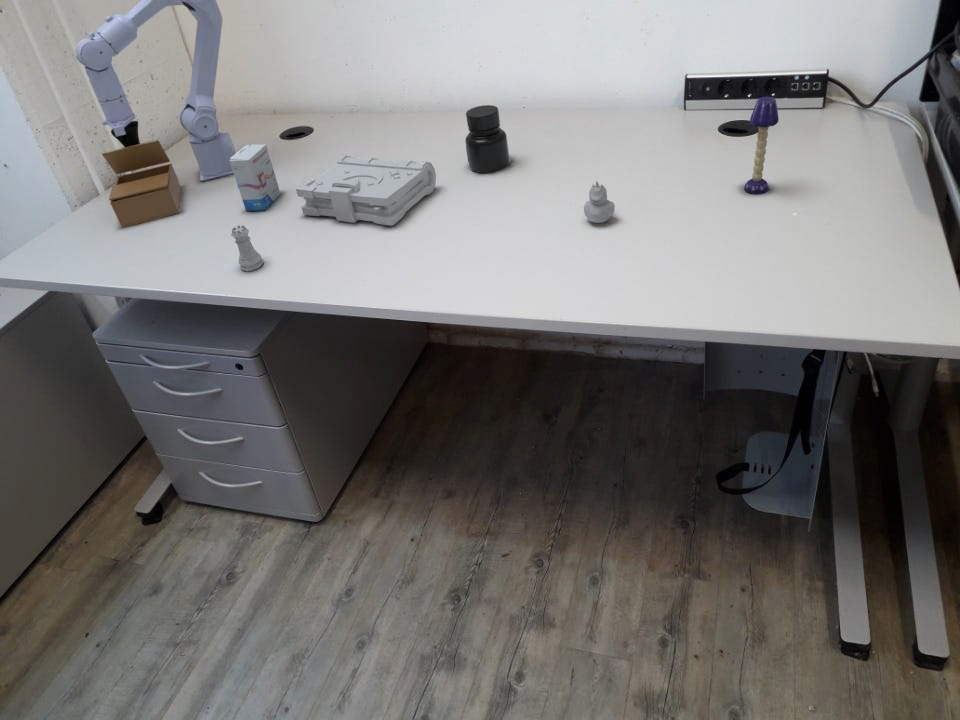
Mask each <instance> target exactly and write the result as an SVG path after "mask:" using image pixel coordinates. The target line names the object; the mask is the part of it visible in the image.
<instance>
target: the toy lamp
mask: <svg viewBox="0 0 960 720" xmlns="http://www.w3.org/2000/svg"><path fill="white" fill-rule="evenodd" d="M779 120H780V119H779V112H778V105H777V100H776V98H775V97H772V96H762V97H759V98H758V99H757V100H756V102H755V105H754V107H753V110H752V113H751V115H750V119H749V123H750V124H751V125H752V126H754V127H757V129H758V131H757V135H756V136H757V140H756V148H755V151H754V152H755V153H754V155H755V157H754V161H753V162H754V164H753V168H752V170H753V173H752V178H750V179H749V180H747V181H746V182H745V184H744V187H743V190H744V191H745V192H746V193H748V194H752V195H761V194H765V193H767V192H768V191H769V189H770V187H769V184H768V181H767V180H766V179H764V178H763V171H764V163H765V160H766V157H765V155H766V153H767V149H766V147H767V145H768V142H767V139H768V137H769V132H768V131H769V129H770V128H771V127H774V126H776V125H777V124H778V123H779Z"/></svg>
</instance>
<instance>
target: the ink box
mask: <svg viewBox="0 0 960 720" xmlns="http://www.w3.org/2000/svg"><path fill="white" fill-rule="evenodd" d="M230 159H231V160H230V164H231V167H232V170H233V176H234V180H235V182H236V185H237V189H238V192H239V194H240V197H241V200H242V204H243V205H244V209H245V211H246V212H253V211H254V212H255V211H266V210H267V209H268V208H269V207H270V206H271V205H272V204H273V203H274V201H276V199H278V197H279V196H280V195H281V190H280V187H279V184H278V180H277V177H276V173H275V170H274V167H273V164H272V160H271V157H270V154H269V150H268V146H267V144H245V145H243V147H241V149H239V150H238V151H237V152H236V154H234V155H233V156H232V157H231V158H230Z"/></svg>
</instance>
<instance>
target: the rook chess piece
mask: <svg viewBox="0 0 960 720" xmlns="http://www.w3.org/2000/svg"><path fill="white" fill-rule="evenodd" d="M249 232H250V230H249V228H246V225H244V224H241V225H239V224H238V225H236V226H233V227H232V229H231V237H233V238H234V239H235V241H234V243H235V244H236V246H237V247H238V253H239V256H238V265H239V269H241V270H242V271H244V272H252V271H256V270H259V269H260V268H261V267H262V265H263V264H264V259H263V258H262V255H261V254H260V253H259V252H258V251H257V250H256V249H255V247H254V246H253V244H252V242H251V237H250V236H249Z"/></svg>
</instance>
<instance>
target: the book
mask: <svg viewBox="0 0 960 720" xmlns="http://www.w3.org/2000/svg"><path fill="white" fill-rule="evenodd" d="M436 181H437V174H436V169H435V167H434V165H433V164H432V162H430V161H421V162H415V161H413V160H406V159H394V160H388V159H387V160H386V159H378V158H374V157H368V156H367V157H365V156H356V157H352V156H350V155H346V154H345V155H341V156H340V157H338V160H337V161H336V163H334V164H333V165H332V166H330V167H329V168H327V169H326V170H324V171H322V172H321V173H320V174H318V175H317V176H315V177H314V178H311V179H309V180H307V181H305V182H304V183H302V184H300V185H299V186H298V187H296V188H295V191H296V194H297V197H299V198H302V199H303V200H304V201H305V203H304V204H303V205H302V206H301V207H300V208H301V211H302V214H303V215H305V216H312V217H313V216H314V217H320V216H327V217H335V219H336V221H338V222H343V223H344V222H345V223H352V224H353V223H354V224H355V223H356V222H358V221H367V222H373V223H374V224H378V225H384V226H394V225H396V224H397V223H398V222H399V221H400V220H401V219H402V218H403V217H404V216H405V215H406V213H407V211H409V210H410V209H411V208H412V207H414V206H415V205H416V204H417V203H418V202H419V201H420V200H422V198H424V197H425V196H427V195H428V196H429V195H430V194H432V193H433V192H434V190H435V187H436Z"/></svg>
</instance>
